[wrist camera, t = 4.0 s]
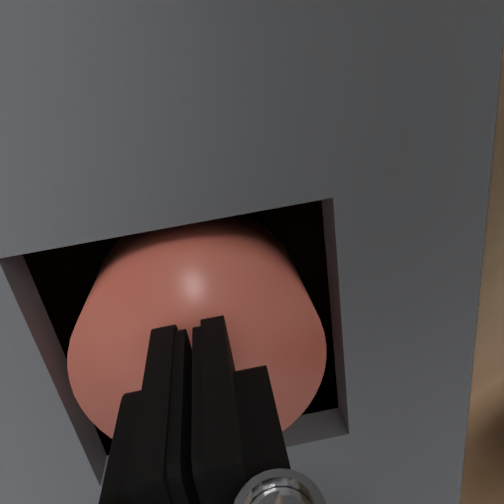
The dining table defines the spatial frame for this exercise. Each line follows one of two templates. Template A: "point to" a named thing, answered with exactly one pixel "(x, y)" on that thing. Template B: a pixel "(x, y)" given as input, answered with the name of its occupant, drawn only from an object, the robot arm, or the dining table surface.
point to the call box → (259, 205)
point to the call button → (197, 313)
